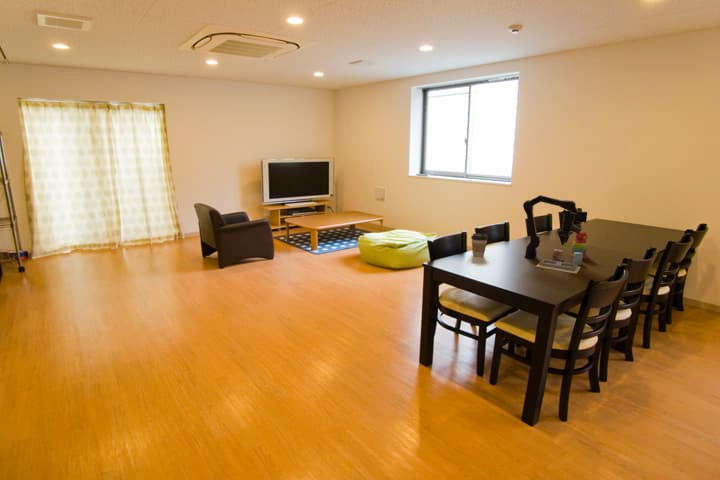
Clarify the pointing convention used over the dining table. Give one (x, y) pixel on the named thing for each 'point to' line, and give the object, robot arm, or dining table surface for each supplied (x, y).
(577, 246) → the stacking bear
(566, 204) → the robot arm
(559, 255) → the walnut block
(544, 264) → the tray
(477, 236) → the coffee cup
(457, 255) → the dining table surface
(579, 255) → the teal cylinder
